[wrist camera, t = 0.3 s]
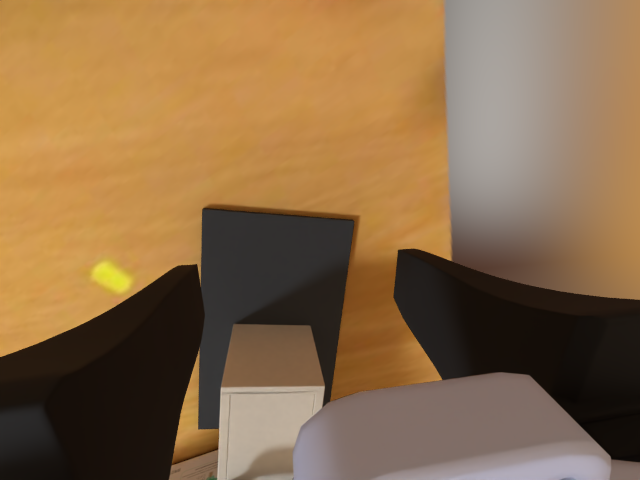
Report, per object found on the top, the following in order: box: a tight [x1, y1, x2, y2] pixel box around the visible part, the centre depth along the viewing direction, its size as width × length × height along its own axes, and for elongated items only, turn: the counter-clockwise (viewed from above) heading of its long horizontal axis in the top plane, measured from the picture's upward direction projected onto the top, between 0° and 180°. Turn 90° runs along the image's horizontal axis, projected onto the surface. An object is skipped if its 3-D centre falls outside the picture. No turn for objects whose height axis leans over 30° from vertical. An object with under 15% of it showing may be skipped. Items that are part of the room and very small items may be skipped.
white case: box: [217, 324, 325, 480], centre depth 20 cm, size 8×6×9 cm
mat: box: [198, 208, 354, 429], centre depth 24 cm, size 17×10×1 cm, turn 174°
